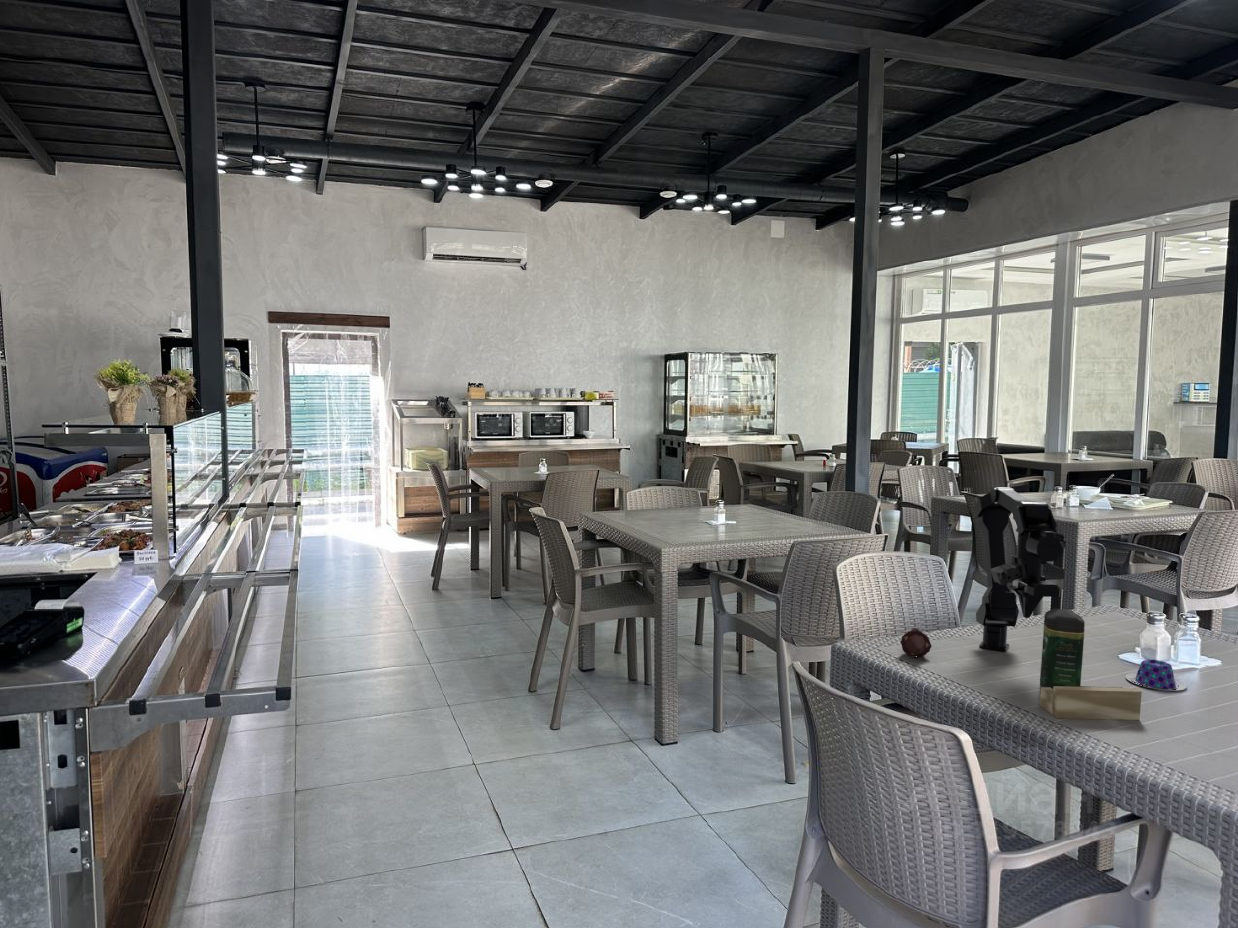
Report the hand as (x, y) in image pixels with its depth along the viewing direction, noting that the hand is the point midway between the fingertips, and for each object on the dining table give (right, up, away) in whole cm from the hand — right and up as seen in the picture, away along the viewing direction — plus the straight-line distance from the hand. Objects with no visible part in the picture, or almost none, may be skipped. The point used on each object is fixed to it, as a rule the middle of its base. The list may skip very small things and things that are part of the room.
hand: (1026, 617), depth 201 cm
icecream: (-23, -12, +10) cm, 28 cm away
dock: (0, -15, -26) cm, 30 cm away
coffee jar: (0, -14, -14) cm, 20 cm away
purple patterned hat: (+27, -15, -7) cm, 31 cm away
